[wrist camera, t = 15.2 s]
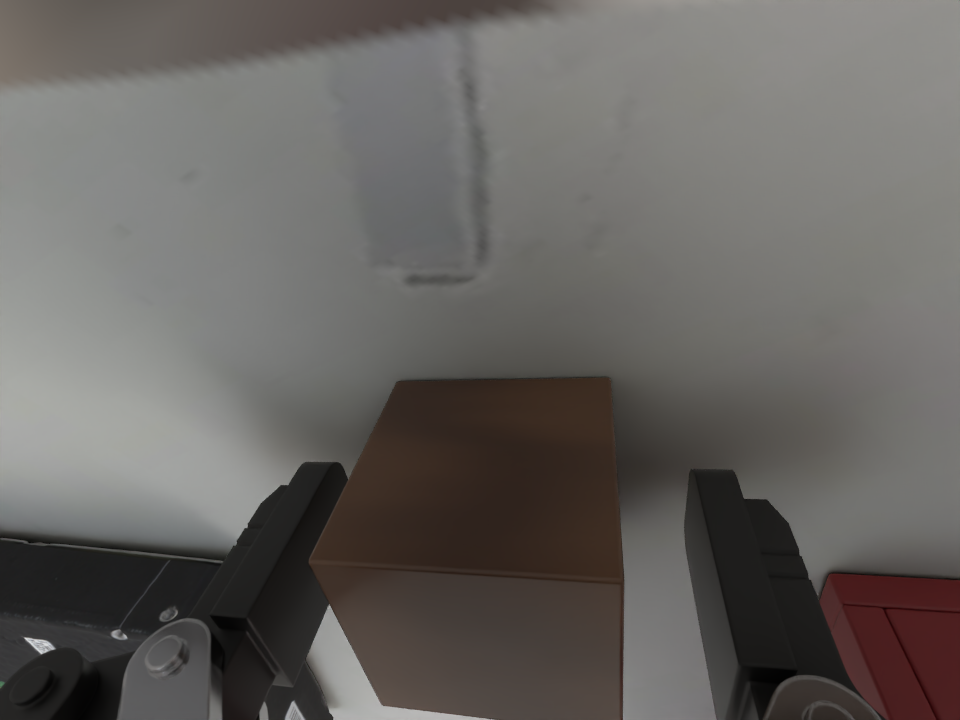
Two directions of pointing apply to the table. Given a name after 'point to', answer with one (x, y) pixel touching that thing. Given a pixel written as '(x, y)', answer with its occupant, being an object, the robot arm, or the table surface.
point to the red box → (898, 642)
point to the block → (484, 551)
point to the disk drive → (111, 609)
